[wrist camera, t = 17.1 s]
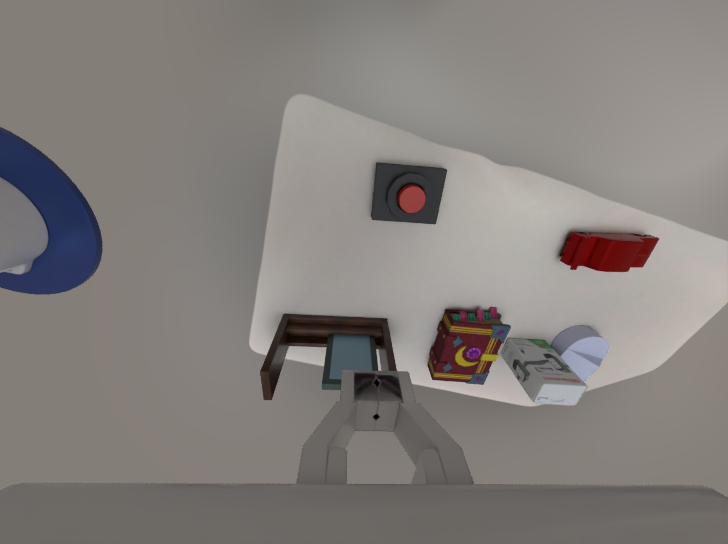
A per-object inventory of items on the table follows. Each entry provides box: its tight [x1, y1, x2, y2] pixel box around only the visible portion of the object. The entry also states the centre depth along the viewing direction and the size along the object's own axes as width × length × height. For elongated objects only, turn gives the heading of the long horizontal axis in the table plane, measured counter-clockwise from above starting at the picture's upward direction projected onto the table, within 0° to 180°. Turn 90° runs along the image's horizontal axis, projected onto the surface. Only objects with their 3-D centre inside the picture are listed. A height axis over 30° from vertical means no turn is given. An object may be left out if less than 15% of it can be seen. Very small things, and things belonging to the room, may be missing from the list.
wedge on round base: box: [551, 326, 609, 382], centre depth 53 cm, size 9×7×13 cm
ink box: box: [501, 338, 588, 406], centre depth 51 cm, size 9×5×12 cm, turn 84°
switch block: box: [371, 163, 447, 224], centre depth 39 cm, size 10×8×4 cm
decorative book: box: [428, 307, 511, 385], centre depth 52 cm, size 11×16×5 cm
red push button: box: [398, 184, 426, 213], centre depth 36 cm, size 4×4×2 cm
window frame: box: [260, 314, 397, 400], centre depth 46 cm, size 20×6×14 cm, turn 85°
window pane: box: [322, 334, 378, 390], centre depth 44 cm, size 9×2×15 cm, turn 85°
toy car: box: [560, 232, 659, 272], centre depth 43 cm, size 14×6×5 cm, turn 87°
